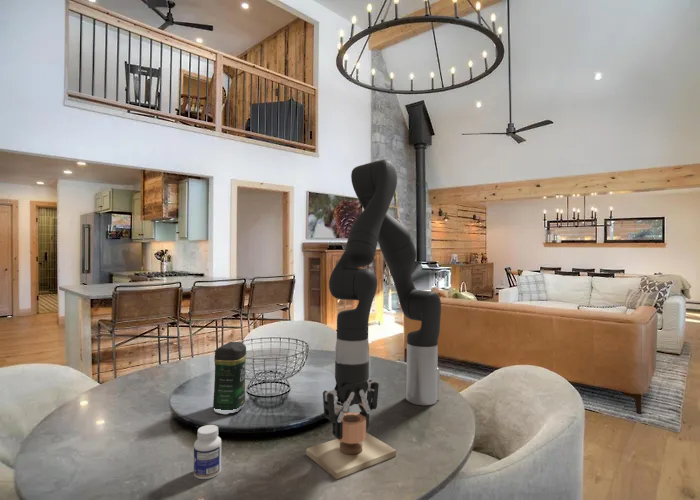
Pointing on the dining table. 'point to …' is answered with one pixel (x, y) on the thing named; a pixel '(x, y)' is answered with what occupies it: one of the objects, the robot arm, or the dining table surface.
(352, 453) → the post
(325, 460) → the base board
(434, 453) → the dining table surface
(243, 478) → the dining table surface
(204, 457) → the pill bottle
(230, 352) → the coffee jar
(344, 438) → the ring
